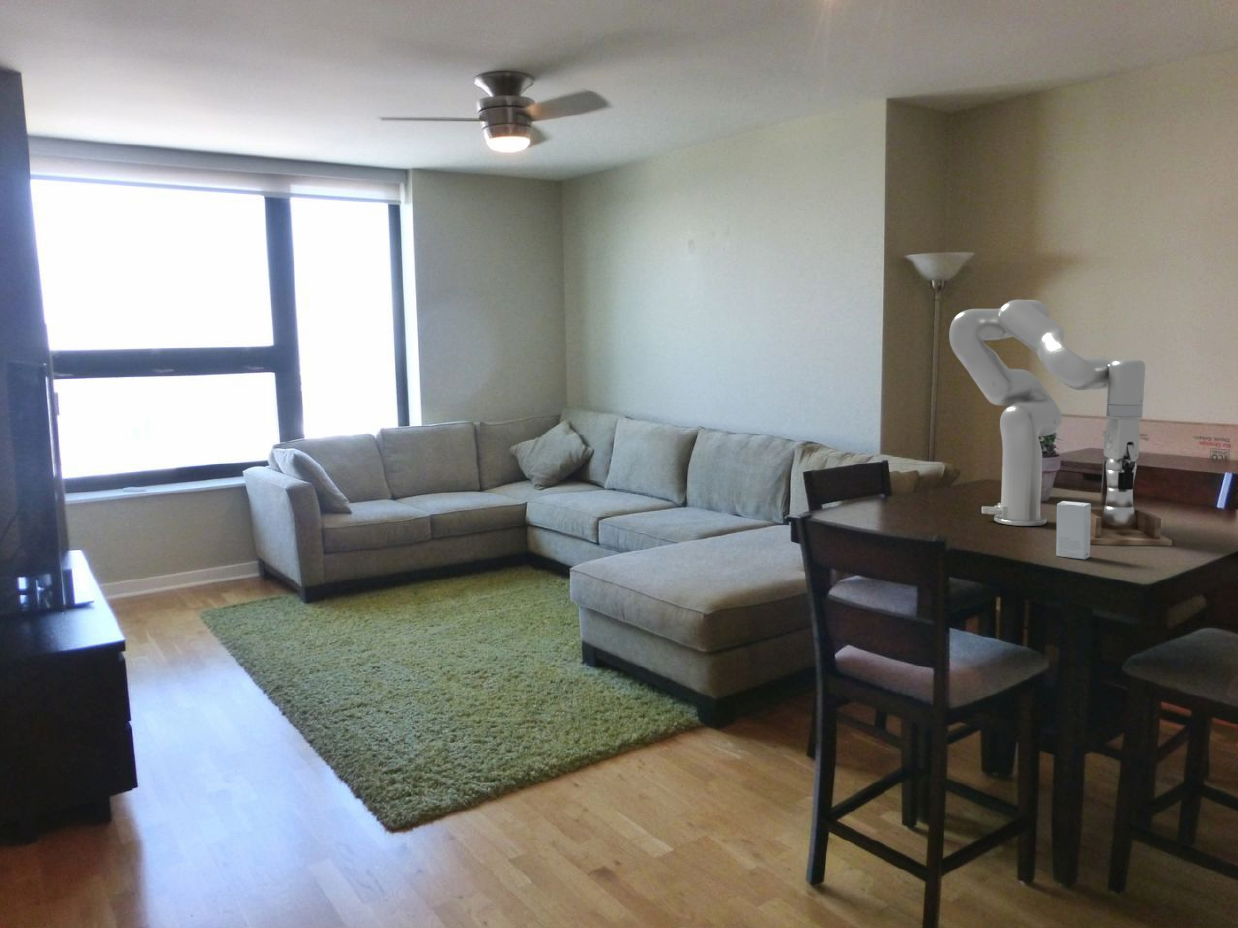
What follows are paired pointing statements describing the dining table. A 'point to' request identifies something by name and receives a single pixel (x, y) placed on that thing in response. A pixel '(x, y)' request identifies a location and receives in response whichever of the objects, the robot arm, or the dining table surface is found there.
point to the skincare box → (1073, 529)
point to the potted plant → (1048, 464)
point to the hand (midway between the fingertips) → (1120, 486)
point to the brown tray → (1127, 530)
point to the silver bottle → (1117, 498)
